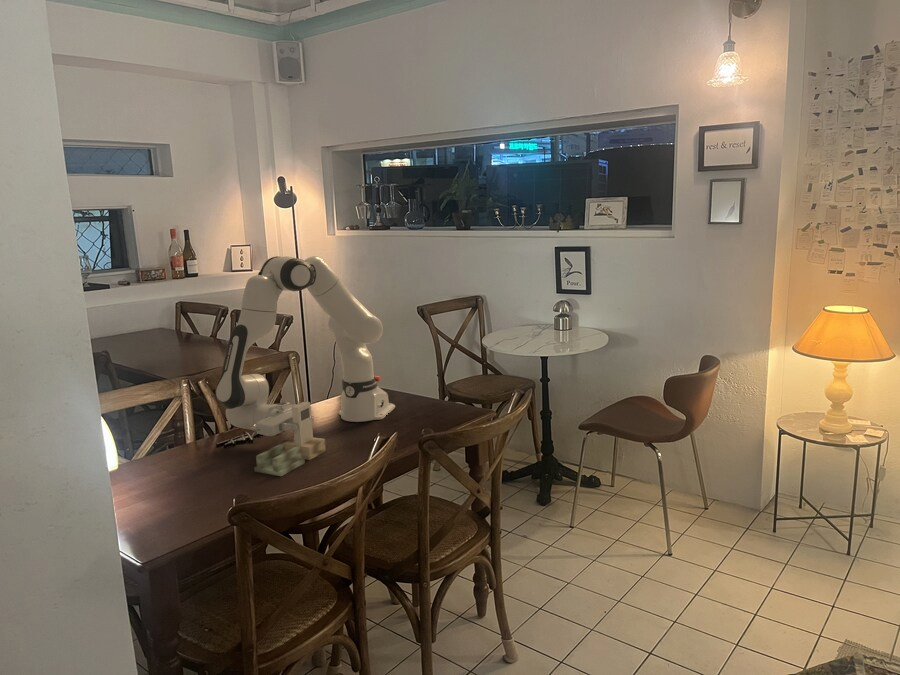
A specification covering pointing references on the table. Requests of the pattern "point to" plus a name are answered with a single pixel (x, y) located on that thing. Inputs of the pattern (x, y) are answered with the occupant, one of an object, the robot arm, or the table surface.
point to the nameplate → (239, 439)
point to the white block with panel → (302, 422)
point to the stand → (308, 447)
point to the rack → (279, 460)
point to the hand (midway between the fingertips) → (304, 423)
